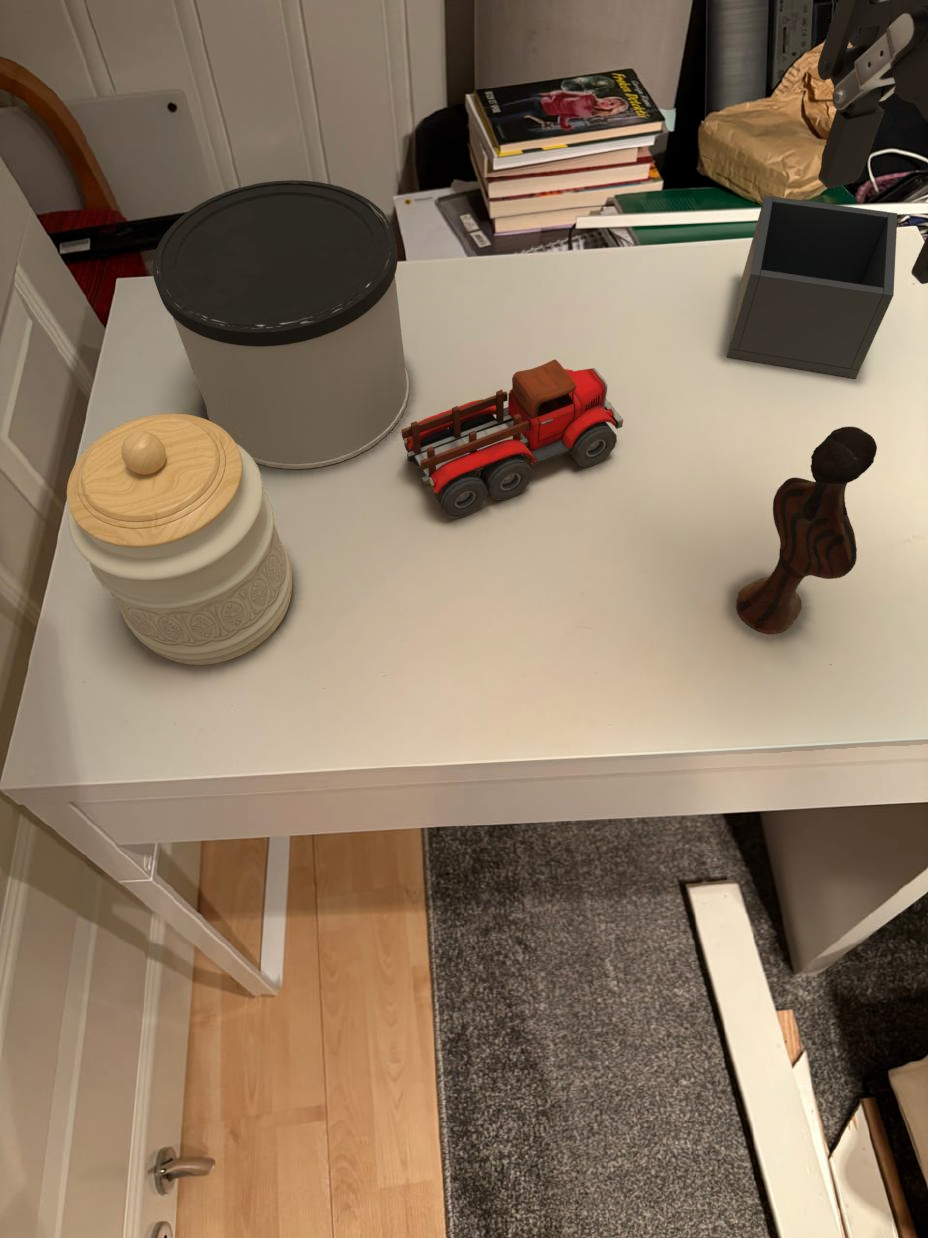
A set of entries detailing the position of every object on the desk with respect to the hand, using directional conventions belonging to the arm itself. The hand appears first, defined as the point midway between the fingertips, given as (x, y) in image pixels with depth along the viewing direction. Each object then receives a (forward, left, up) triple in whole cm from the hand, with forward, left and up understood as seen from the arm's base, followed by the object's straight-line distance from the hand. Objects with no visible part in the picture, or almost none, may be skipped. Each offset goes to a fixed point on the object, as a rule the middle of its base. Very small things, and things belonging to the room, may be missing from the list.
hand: (882, 226), depth 45 cm
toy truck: (+21, -6, -29) cm, 36 cm away
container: (+41, -9, -29) cm, 51 cm away
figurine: (-2, +4, -29) cm, 30 cm away
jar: (+40, +14, -29) cm, 51 cm away
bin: (-1, -29, -29) cm, 41 cm away
